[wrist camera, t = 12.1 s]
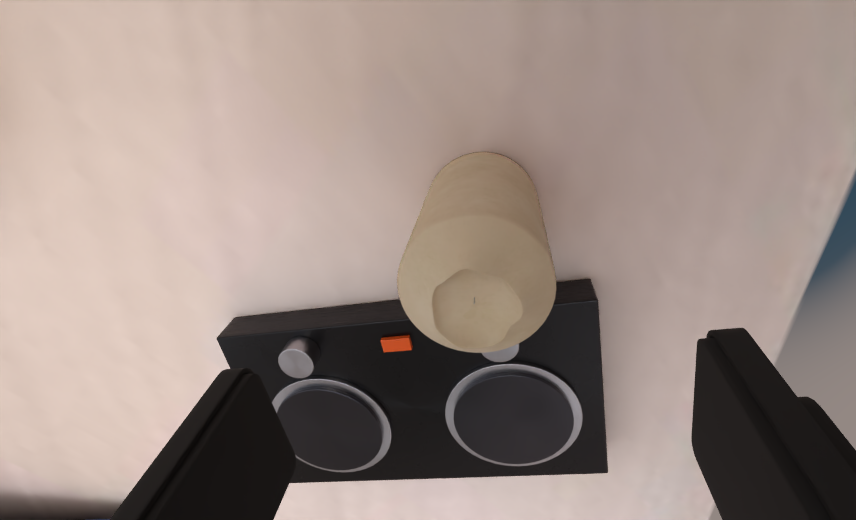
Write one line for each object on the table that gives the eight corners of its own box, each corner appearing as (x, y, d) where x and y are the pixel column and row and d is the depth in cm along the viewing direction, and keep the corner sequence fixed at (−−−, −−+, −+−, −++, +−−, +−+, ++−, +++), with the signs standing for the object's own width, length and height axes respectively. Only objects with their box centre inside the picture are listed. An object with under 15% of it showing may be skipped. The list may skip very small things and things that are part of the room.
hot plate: (234, 317, 30) (204, 351, 27) (590, 278, 25) (603, 313, 22) (295, 457, 35) (275, 499, 32) (601, 444, 30) (612, 491, 27)
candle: (423, 152, 24) (379, 233, 15) (539, 148, 23) (566, 231, 14) (431, 254, 26) (397, 377, 17) (536, 253, 25) (557, 382, 16)
